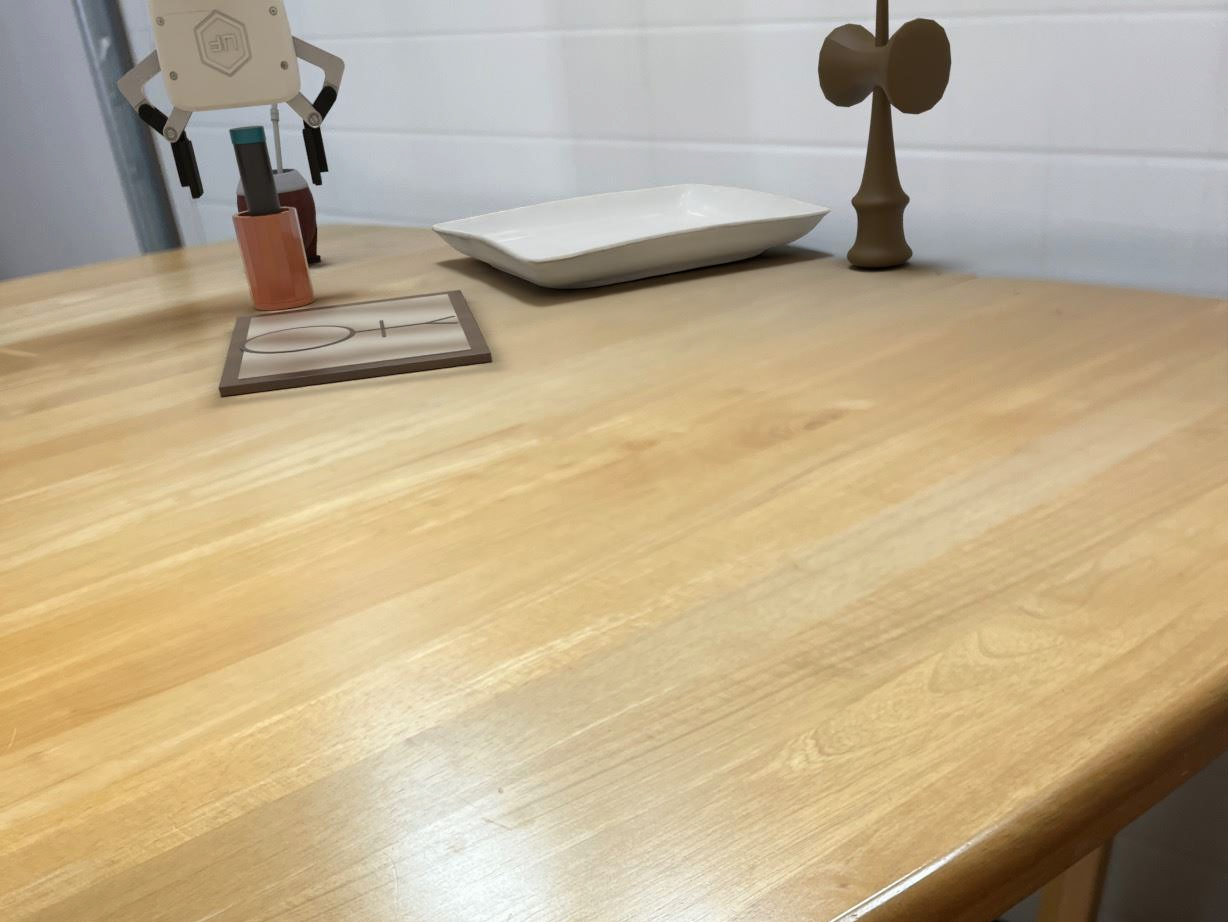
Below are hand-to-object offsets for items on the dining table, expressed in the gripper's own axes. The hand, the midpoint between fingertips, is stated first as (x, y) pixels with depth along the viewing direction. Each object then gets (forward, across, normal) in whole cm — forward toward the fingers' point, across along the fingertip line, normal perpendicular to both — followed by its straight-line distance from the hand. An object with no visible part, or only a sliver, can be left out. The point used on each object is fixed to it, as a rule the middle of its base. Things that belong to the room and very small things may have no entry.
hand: (258, 189), depth 109 cm
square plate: (+9, +30, +2) cm, 31 cm away
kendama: (+9, +48, -15) cm, 51 cm away
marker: (+8, 0, 0) cm, 8 cm away
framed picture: (+9, +6, -19) cm, 22 cm away
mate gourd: (+9, 0, +20) cm, 22 cm away
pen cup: (+9, 0, 0) cm, 9 cm away
